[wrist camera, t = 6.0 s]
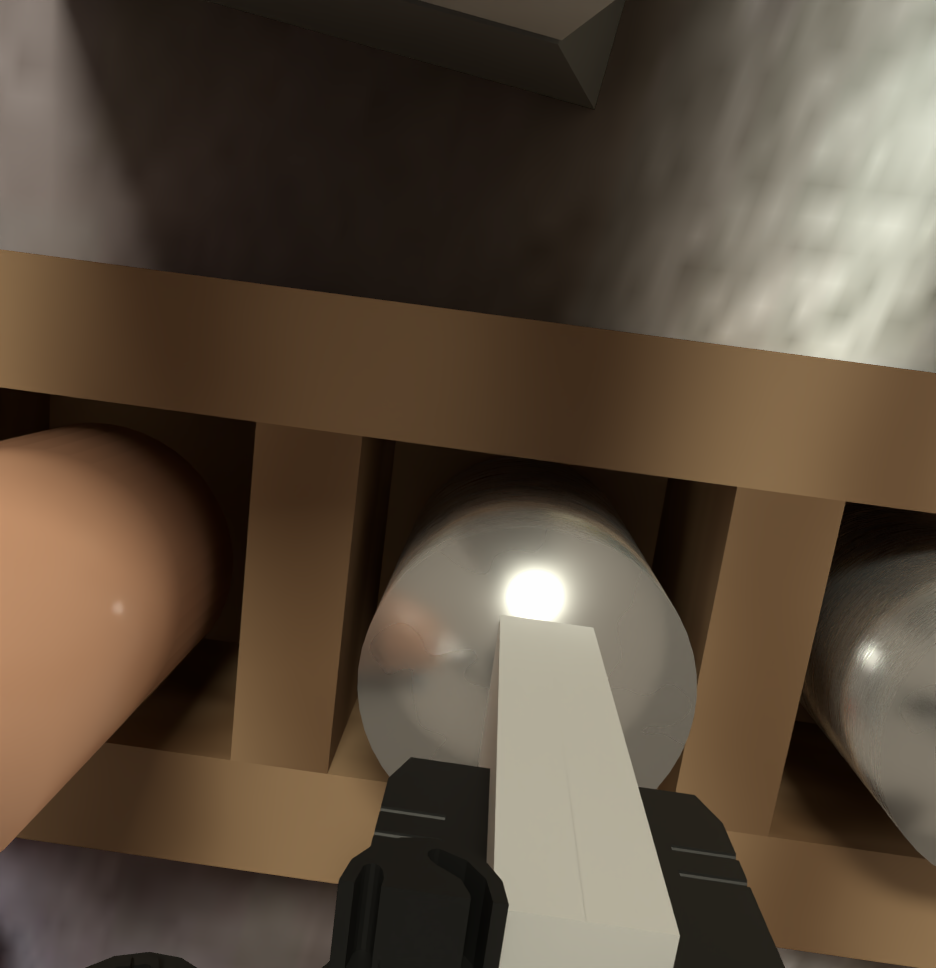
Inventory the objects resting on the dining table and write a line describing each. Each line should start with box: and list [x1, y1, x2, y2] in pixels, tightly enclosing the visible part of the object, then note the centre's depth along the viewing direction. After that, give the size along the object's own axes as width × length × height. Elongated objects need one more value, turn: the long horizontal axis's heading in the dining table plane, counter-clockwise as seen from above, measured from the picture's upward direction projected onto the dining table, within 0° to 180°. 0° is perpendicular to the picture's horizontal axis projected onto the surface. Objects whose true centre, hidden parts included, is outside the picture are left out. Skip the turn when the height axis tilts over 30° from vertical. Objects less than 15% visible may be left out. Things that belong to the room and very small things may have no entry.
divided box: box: [0, 250, 936, 968], centre depth 18 cm, size 28×12×6 cm, turn 83°
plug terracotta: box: [0, 423, 233, 852], centre depth 14 cm, size 6×6×7 cm
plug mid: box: [357, 456, 697, 789], centre depth 17 cm, size 6×6×7 cm
